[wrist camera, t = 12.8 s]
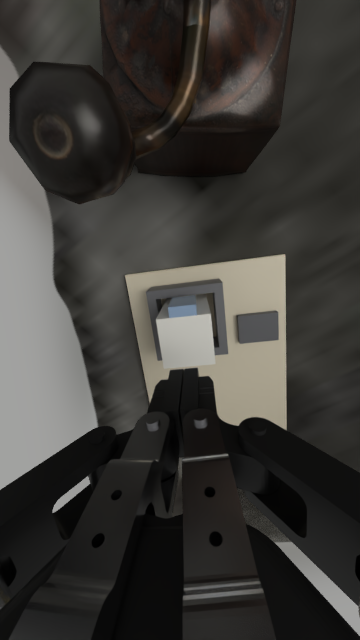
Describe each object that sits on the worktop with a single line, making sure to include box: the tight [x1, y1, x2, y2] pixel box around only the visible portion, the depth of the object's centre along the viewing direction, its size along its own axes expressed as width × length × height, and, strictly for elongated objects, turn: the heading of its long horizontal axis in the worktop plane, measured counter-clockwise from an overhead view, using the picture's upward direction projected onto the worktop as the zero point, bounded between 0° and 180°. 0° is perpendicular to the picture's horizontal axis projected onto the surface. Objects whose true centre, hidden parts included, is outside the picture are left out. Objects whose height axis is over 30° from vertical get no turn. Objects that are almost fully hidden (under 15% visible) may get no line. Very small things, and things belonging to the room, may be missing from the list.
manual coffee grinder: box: [9, 0, 296, 204], centre depth 13 cm, size 16×11×18 cm
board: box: [125, 254, 287, 430], centre depth 26 cm, size 16×22×4 cm
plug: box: [156, 293, 216, 369], centre depth 22 cm, size 4×5×8 cm
